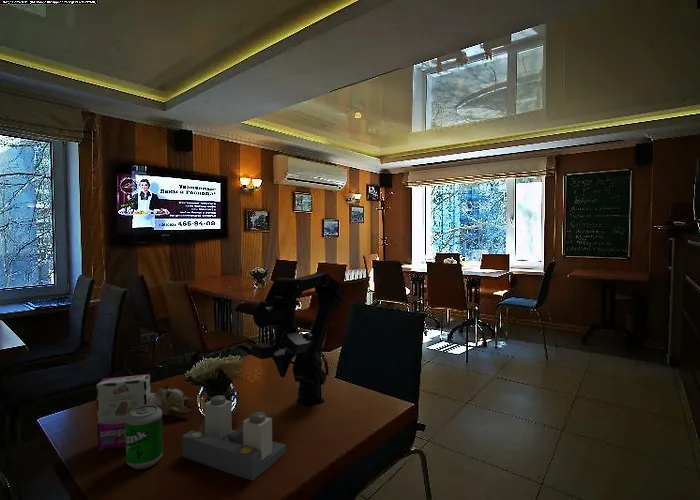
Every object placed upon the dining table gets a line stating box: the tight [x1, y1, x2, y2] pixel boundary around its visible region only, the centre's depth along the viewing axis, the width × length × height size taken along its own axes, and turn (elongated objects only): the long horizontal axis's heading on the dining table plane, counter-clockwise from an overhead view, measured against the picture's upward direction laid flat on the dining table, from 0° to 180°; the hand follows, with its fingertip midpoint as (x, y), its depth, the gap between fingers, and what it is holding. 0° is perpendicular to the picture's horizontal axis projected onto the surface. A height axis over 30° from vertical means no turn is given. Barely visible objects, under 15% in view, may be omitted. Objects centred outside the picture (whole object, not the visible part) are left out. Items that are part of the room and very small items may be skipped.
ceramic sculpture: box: [150, 385, 198, 417], centre depth 115 cm, size 11×9×15 cm
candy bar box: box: [95, 373, 151, 452], centre depth 99 cm, size 11×5×16 cm, turn 105°
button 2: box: [242, 411, 273, 460], centre depth 89 cm, size 4×5×9 cm
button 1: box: [204, 395, 233, 439], centre depth 99 cm, size 4×5×9 cm
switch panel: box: [181, 425, 287, 482], centre depth 93 cm, size 12×21×5 cm, turn 64°
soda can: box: [125, 405, 164, 470], centre depth 91 cm, size 8×8×12 cm
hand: (282, 376), depth 112 cm, fingers closed
